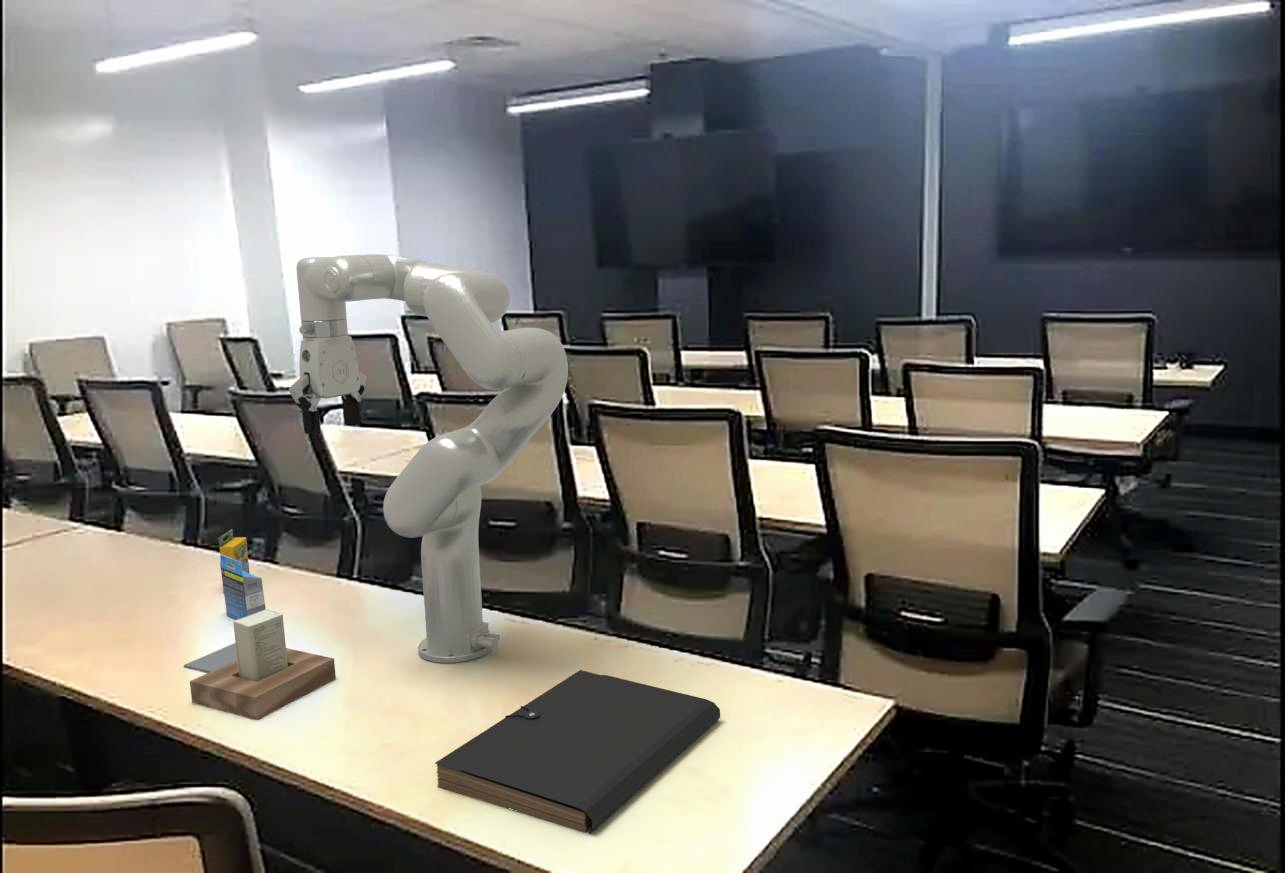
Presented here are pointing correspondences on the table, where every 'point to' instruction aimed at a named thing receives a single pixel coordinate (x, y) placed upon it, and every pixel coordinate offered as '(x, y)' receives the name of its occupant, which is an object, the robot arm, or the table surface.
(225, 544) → the crayon box
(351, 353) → the robot arm
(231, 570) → the label tape box
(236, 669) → the pocket block
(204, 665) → the slate mat
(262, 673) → the skincare box
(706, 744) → the table surface
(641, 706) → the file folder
